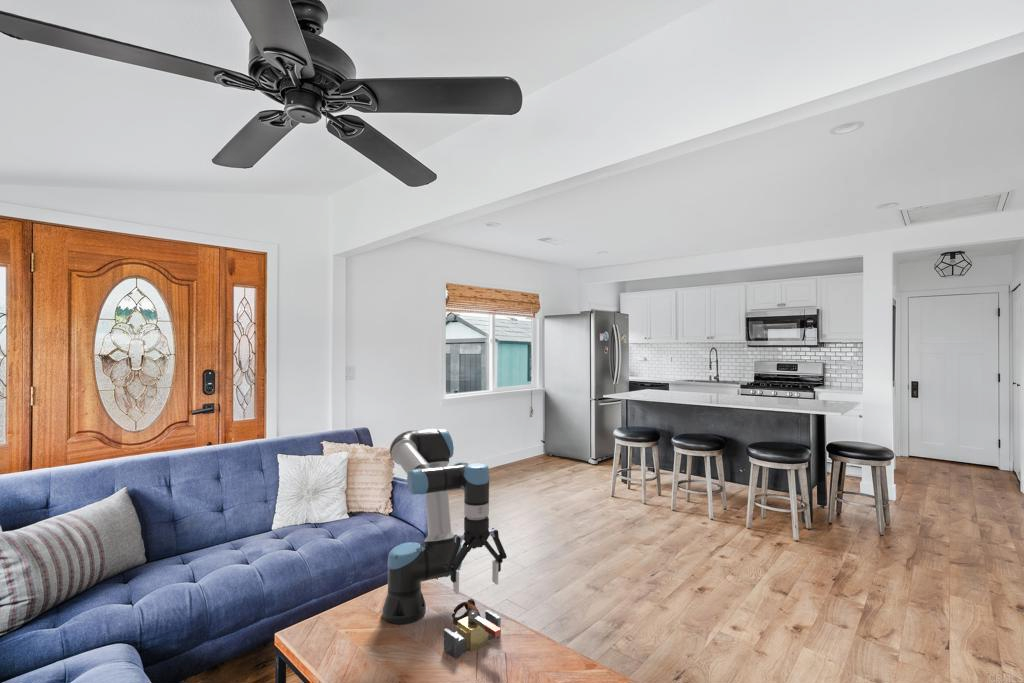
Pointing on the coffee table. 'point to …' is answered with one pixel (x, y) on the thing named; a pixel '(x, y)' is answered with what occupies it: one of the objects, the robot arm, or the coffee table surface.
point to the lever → (483, 623)
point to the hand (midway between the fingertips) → (476, 587)
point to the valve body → (469, 636)
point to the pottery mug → (469, 607)
